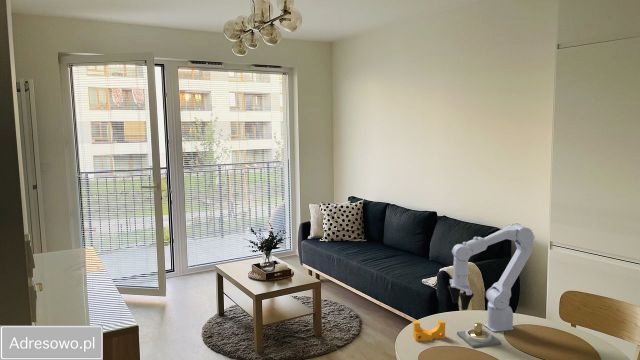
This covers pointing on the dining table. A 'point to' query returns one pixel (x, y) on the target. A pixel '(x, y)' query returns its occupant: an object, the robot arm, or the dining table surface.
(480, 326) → the brass cabinet knob
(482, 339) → the carrier plate
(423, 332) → the pipe clamp
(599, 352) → the dining table surface
